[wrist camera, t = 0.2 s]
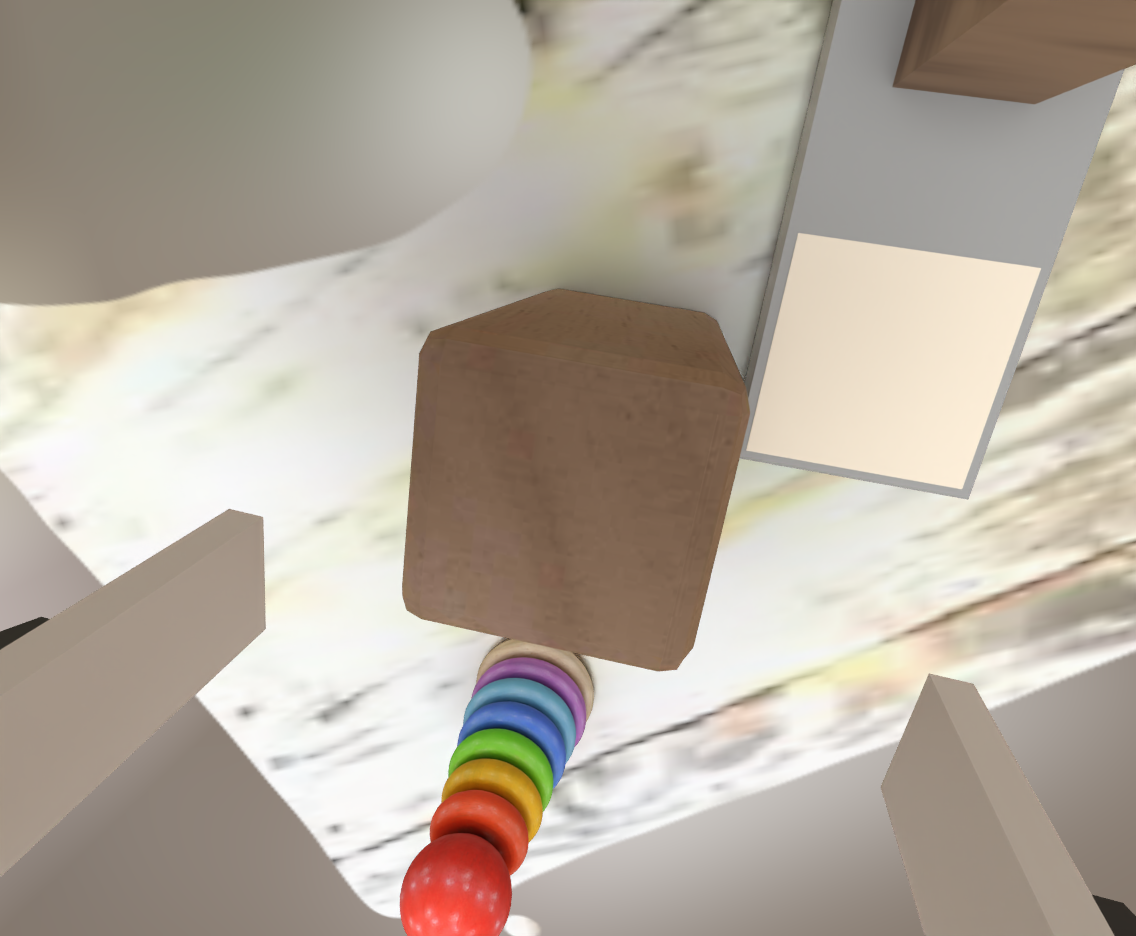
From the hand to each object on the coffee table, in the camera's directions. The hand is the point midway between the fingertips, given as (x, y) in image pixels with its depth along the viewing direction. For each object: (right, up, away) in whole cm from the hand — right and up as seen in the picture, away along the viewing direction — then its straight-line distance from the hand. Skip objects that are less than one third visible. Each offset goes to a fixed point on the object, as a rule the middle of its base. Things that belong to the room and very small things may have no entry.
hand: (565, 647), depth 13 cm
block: (+3, +8, +26) cm, 28 cm away
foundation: (+17, +15, +21) cm, 31 cm away
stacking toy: (-2, -11, +33) cm, 35 cm away
